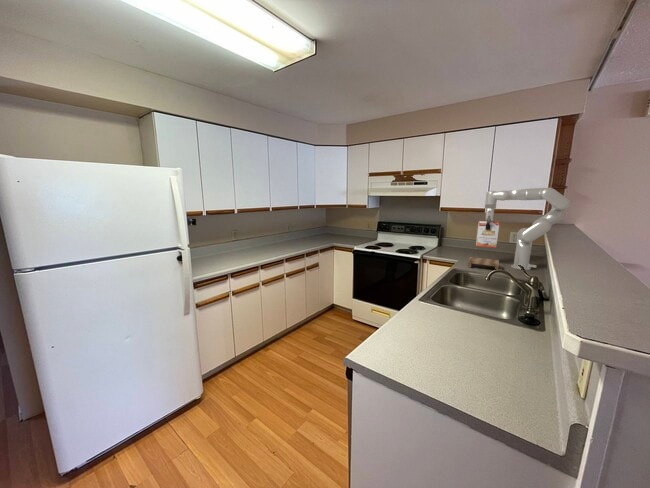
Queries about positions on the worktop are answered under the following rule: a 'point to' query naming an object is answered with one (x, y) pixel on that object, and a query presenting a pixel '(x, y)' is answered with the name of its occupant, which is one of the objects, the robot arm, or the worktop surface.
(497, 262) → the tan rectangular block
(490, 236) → the cracker box
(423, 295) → the worktop surface
